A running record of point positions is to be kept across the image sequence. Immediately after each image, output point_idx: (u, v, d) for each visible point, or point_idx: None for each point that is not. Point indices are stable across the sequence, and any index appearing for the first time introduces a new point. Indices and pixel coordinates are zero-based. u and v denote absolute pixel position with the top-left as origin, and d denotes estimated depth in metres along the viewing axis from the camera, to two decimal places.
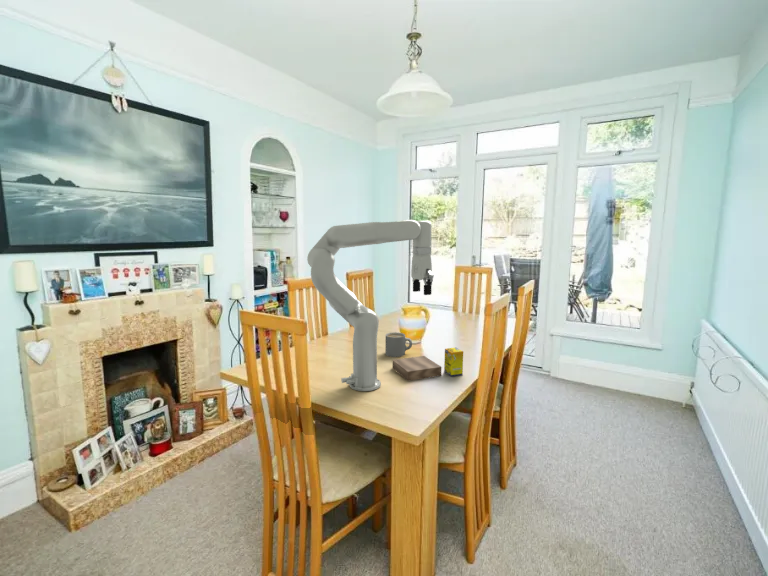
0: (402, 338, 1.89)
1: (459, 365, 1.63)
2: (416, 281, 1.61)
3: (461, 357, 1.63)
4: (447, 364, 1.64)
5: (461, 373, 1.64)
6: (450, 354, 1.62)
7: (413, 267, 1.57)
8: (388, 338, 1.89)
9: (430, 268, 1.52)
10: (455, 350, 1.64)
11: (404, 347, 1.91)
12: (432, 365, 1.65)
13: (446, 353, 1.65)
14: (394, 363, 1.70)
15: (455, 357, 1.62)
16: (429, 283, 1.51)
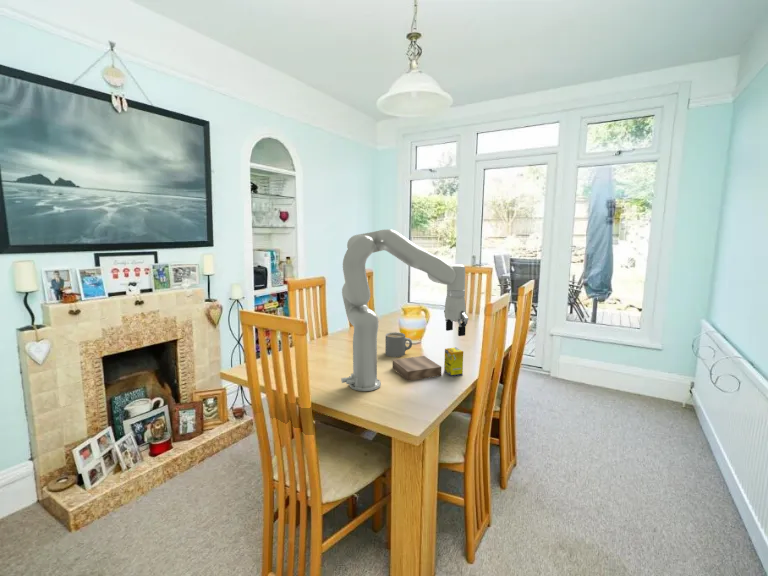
0: (402, 338, 1.89)
1: (459, 365, 1.63)
2: (449, 320, 1.67)
3: (461, 357, 1.63)
4: (447, 364, 1.64)
5: (461, 373, 1.64)
6: (450, 354, 1.62)
7: (447, 308, 1.63)
8: (388, 338, 1.89)
9: (464, 310, 1.58)
10: (455, 350, 1.64)
11: (404, 347, 1.91)
12: (432, 365, 1.65)
13: (446, 353, 1.65)
14: (394, 363, 1.70)
15: (455, 357, 1.62)
16: (464, 325, 1.57)
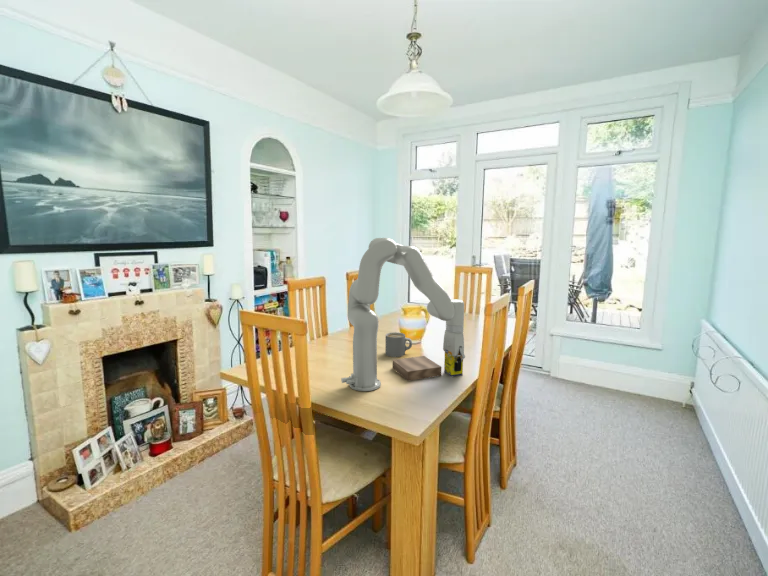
0: (402, 338, 1.89)
1: None
2: None
3: None
4: (447, 364, 1.64)
5: (461, 373, 1.64)
6: (450, 354, 1.62)
7: (445, 342, 1.65)
8: (388, 338, 1.89)
9: (463, 345, 1.60)
10: None
11: (404, 347, 1.91)
12: (432, 365, 1.65)
13: (446, 353, 1.65)
14: (394, 363, 1.70)
15: None
16: (460, 361, 1.60)
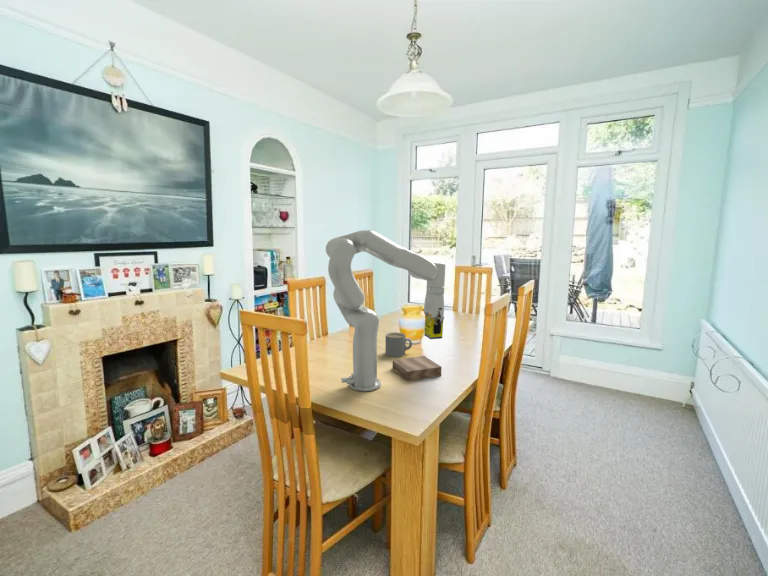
0: (402, 338, 1.89)
1: None
2: None
3: None
4: (427, 327, 1.63)
5: (441, 336, 1.63)
6: (430, 316, 1.61)
7: (426, 305, 1.64)
8: (388, 338, 1.89)
9: (442, 307, 1.59)
10: None
11: (404, 347, 1.91)
12: (432, 365, 1.65)
13: (426, 315, 1.64)
14: (394, 363, 1.70)
15: None
16: (439, 323, 1.59)
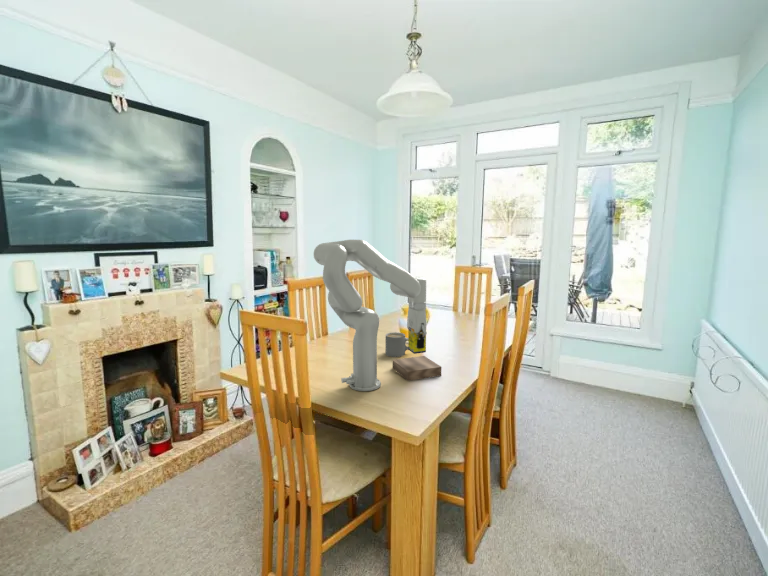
0: (402, 338, 1.89)
1: None
2: None
3: None
4: (411, 341, 1.65)
5: (424, 350, 1.65)
6: (413, 331, 1.63)
7: (409, 320, 1.66)
8: (388, 338, 1.89)
9: (425, 322, 1.61)
10: None
11: (404, 347, 1.91)
12: (432, 365, 1.65)
13: (409, 330, 1.66)
14: (394, 363, 1.70)
15: None
16: (422, 338, 1.61)
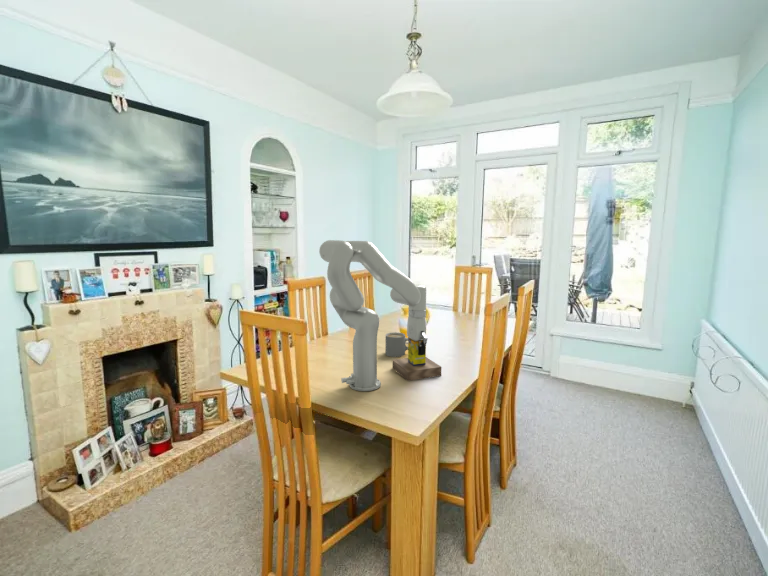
0: (402, 338, 1.89)
1: None
2: None
3: None
4: (410, 354, 1.66)
5: (424, 362, 1.66)
6: (412, 343, 1.63)
7: (408, 327, 1.67)
8: (388, 338, 1.89)
9: (424, 330, 1.62)
10: None
11: (404, 347, 1.91)
12: (432, 365, 1.65)
13: (409, 342, 1.66)
14: (394, 363, 1.70)
15: None
16: (423, 345, 1.60)
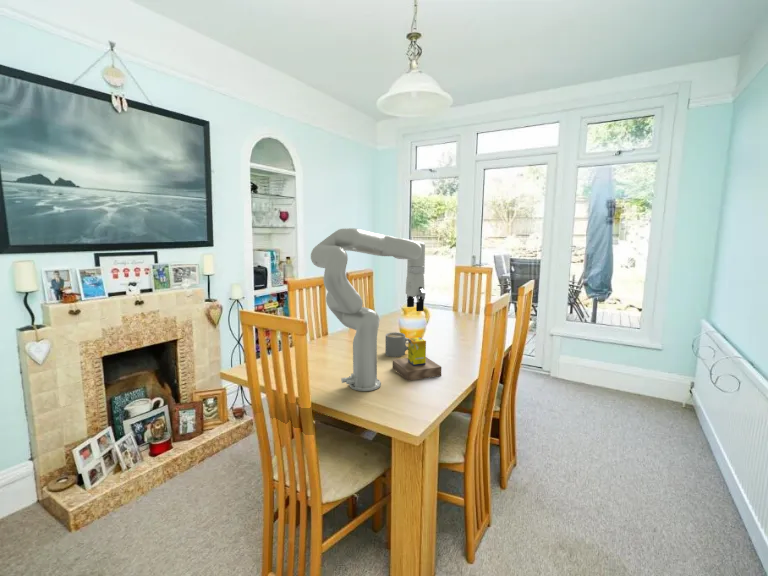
0: (402, 338, 1.89)
1: (422, 354, 1.65)
2: (410, 297, 1.71)
3: (424, 346, 1.64)
4: (410, 354, 1.66)
5: (424, 362, 1.66)
6: (412, 343, 1.63)
7: (407, 284, 1.67)
8: (388, 338, 1.89)
9: (423, 286, 1.62)
10: (418, 340, 1.65)
11: (404, 347, 1.91)
12: (432, 365, 1.65)
13: (409, 342, 1.66)
14: (394, 363, 1.70)
15: (418, 346, 1.63)
16: (421, 300, 1.61)
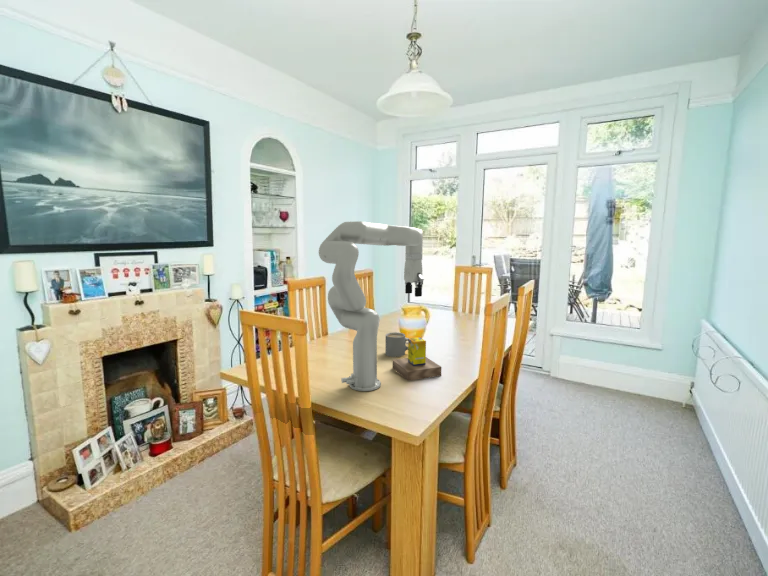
0: (402, 338, 1.89)
1: (422, 354, 1.65)
2: (408, 284, 1.75)
3: (424, 346, 1.64)
4: (410, 354, 1.66)
5: (424, 362, 1.66)
6: (412, 343, 1.63)
7: (405, 271, 1.71)
8: (388, 338, 1.89)
9: (421, 272, 1.66)
10: (418, 340, 1.65)
11: (404, 347, 1.91)
12: (432, 365, 1.65)
13: (409, 342, 1.66)
14: (394, 363, 1.70)
15: (418, 346, 1.63)
16: (420, 286, 1.65)
